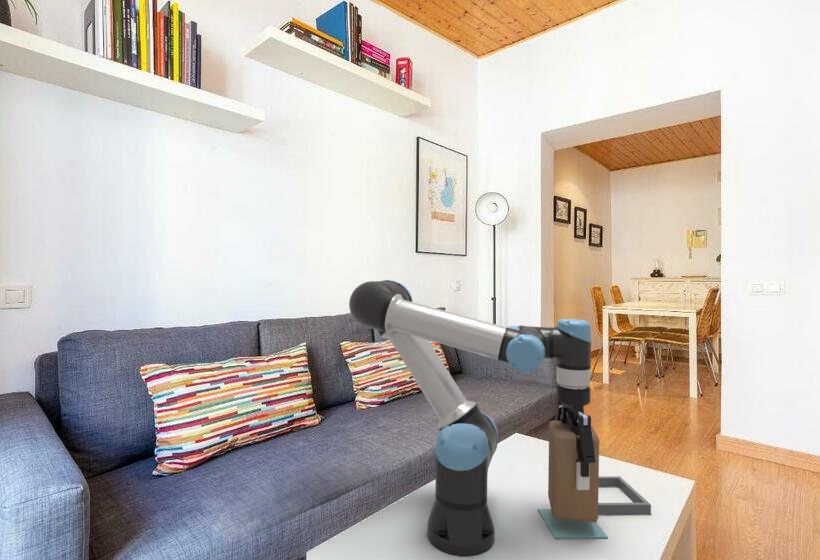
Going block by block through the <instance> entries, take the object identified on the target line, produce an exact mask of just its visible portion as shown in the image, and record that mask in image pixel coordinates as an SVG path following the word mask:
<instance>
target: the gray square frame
mask: <svg viewBox="0 0 820 560" xmlns="http://www.w3.org/2000/svg"><path fill="white" fill-rule="evenodd" d="M599 488H618V489H619V490H620V491H622V492H623V494H624V495H626V496H627V497H628V498H629V499H630V500H631V501H632V502H598V516H629V515H630V516H631V515H632V516H636V515H637V516H638V515H639V516H640V515H641V516H642V515H643V516H645V515H646V516H648V515H652V514H651V511H652V504H651V503H650V502H649V501H648V500H647V499H645V498H644V497H643V496H642V495H641V494H640V493H639V492H638V491H637V490H636V489H634V487H632V486H631V485H630V484H629V482H627V481H626V480H624V479H623V478H622V477H621V476H618V475H616V476H599Z"/></svg>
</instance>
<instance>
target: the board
mask: <svg viewBox="0 0 820 560" xmlns="http://www.w3.org/2000/svg"><path fill="white" fill-rule="evenodd" d="M537 511H538V513H539V515H540V517H541V518H542V520H543V521H544V523H545V525H546V527H547V528H548V530H549V531H550V533H551V534H552V536H553V538H554V539H555V540H592V539H593V540H595V539H596V540H597V539H600V540H602V539H603V540H604V539H605V540H606V539H607V540H608V539H609V536H608V535H607V534H606V533H605V531H604V530H603V529H602V528H601V526H600V525H599V524H598V522H594V523H593V522H584V521H575V520H567V519H558V518H555V517H553V514H552V511H551V507H550V508H546V507H545V508H537Z"/></svg>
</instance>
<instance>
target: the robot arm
mask: <svg viewBox="0 0 820 560" xmlns="http://www.w3.org/2000/svg"><path fill="white" fill-rule="evenodd" d="M348 301H349V303H348V306H349V313H350V314H351V317H352V318H353V319H354V321H355V322H357V323H358V324H359V325H360V326H362V327H366V328H368V329H373V330H377V332H378V334H379V335H380V337H381V338H382V339H386V340H389V341H390V343H391V344H392V346H393V347H394V348H395V350H396V352H397V354H398V355H399V357H400V358H401V360H402V361H403V363H404V365H405V366H406V368H407V370H408V371H409V372H410V375H411V376H412V377H413V379H414V381H415V382H416V384H417V385H418V387H419V389H420V391H422V394H423V395H424V396H425V397H424V398H426V400H427V402H428V403H429V404H430V406H431V408H432V409H433V411H434V413H435V415H436V416H437V417H438V418H437V419H438V423H437V429H438V430H439V432H438V433H437V436H436V441H435V446H434V447H435V448H434V449H435V450H434V452H435V453H434V454H435V489H434V491H435V499H434V502H433V505H432V508H431V511H430V512H429V513H430V514H429V516H428V519H427V525H426V528H427V529H426V530H427V531H426V532H427V533H426V534H427V538H428V539H429V542H430V543H431V544H432V545H433V546H434V547H435V548H437V549H439V550H440V551H442V552H445V553H447V554H450V555H456V556H475V555H479V554H482V553H484V552H487V551H488V550H489V549H490V548H491V547H492V546H493V545H494V542H495V537H496V536H495V533H496V532H495V531H496V530H495V525H494V522H493V517H492V514H491V512H490V508H489V504H488V472H489V467H490V464H491V463H492V462H491V461H492V458H493V456H494V455H495V452H496V451H497V448H498V443H499V433H498V429H497V426H496V424H495V422H494V420H493V419H492V418H491V417H490V416H489V415H487V414H486V413H484V412H482V411H481V409H480V408H479V407H478V405H477V404H476V403H477V402H475V401H472V400H467V399H466V397H465V396H464V394H463V392H462V391H461V389H460V387H459V386H458V384H457V383H456V381H455V380H454V378H453V376H452V374H451V373H450V372H449V371H448V369H447V367H446V365H445V364H444V363H443V361H442V360H441V358H440V356H439V354H438V353H437V352H436V350H435V349H434V347H433V346H432V344H431V343H430V341H431V342H433V343H437V344H442V345H444V346H448V347H452V348H455V349H459V350H462V351H465V352H468V353H473V354H476V355H479V356H482V357H485V358H486V357H487V358H490V359H493V360H497V361H500V362H503V363H505V364H509V365H511V367H512V368H514V369H515V370H516V371H519V372H524V373H525V372H526V373H527V372H533V371H535V370H536V369H537V368H539V367H540V365H542V362H543V361H544V360H545V359H550V360H556V377H555V378H556V383H557V385H556V402H557V404H556V413H555V418H554V419H555V421H561V422H562V423H569V426H570V430H571V431H573V432H574V433H575V435H579V438H580V439H579V438H578V437H577V436H576V449H577V454H578V459H576V489H577V490H589V481H590V463H595V454H594V446H593V439H592V431H591V426H592V417H591V415H590V414H589V415H586V413H585V408H584V407H585V406H587V405H590V403H591V388H590V386H591V376H592V375H593V372H592V370H591V366H592V364H591V363H592V326H591V323H589V322H588V321H587V320H583V319H575V318H563V319H559V320H558V321H557V323H556V327H555V326H553V327H548V326H547V327H545V326H544V327H543V326H532V325H531V326H527V325H522V324H521V325H510V326H508V327H506V326H504V325H501V324H496V323H492V322H488V321H486V320H485V321H484V320H481V319H477V318H475V317H474V318H473V317H469V316H466V315H462V314H458V313H455V312H451V311H447V310H443V309H439V308H437V307H432V306H429V305H425V304H420V303H418V302H414V301H413V296H412V295H411V292H410V291H409V289H408V288H407V287H406V286H405V285H404V284H403V283H401V282H398V281H394V280H391V279H386V280H385V279H383V280H380V281H379V280H377V281H374V280H371V281H370V280H369V281H366V282H362V283H361V284H359V285H358V286H357V287H355V289H353V291H352V293H351V294H350V297H349V300H348Z"/></svg>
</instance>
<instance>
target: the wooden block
mask: <svg viewBox="0 0 820 560" xmlns="http://www.w3.org/2000/svg"><path fill="white" fill-rule="evenodd" d="M591 431H592V439H593V446H594V454H595V463H590V481H589V490H577V489H576V459H578V454H577V449H576V436H577V437H578V438H579V435H575V433H574V432H573V431H571V430H570V426H569V423H562V422H561V421H555V420H551V421H549V424H548V479H547V481H548V484H547V486H548V490H547V491H548V493H547V494H548V497H547V498H548V501H549V505H550V508H551V511H552V514H553V517H555V518H558V519H567V520H575V521H584V522H593V523H594V522H596V523H598V520H599V515H598V503H599V492H600V491H599V488H600V487H599V477H600V474H599V473H600V471H599V470H600V438H599V436H598V434H597V432H596V431H595V429H594V427H593V426H592V425H591ZM579 439H580V438H579Z"/></svg>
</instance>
